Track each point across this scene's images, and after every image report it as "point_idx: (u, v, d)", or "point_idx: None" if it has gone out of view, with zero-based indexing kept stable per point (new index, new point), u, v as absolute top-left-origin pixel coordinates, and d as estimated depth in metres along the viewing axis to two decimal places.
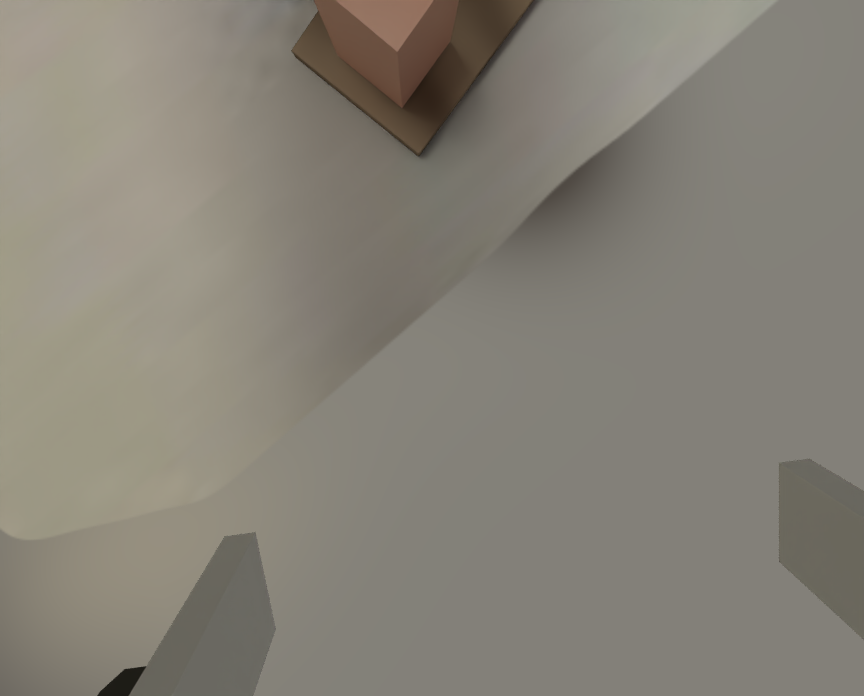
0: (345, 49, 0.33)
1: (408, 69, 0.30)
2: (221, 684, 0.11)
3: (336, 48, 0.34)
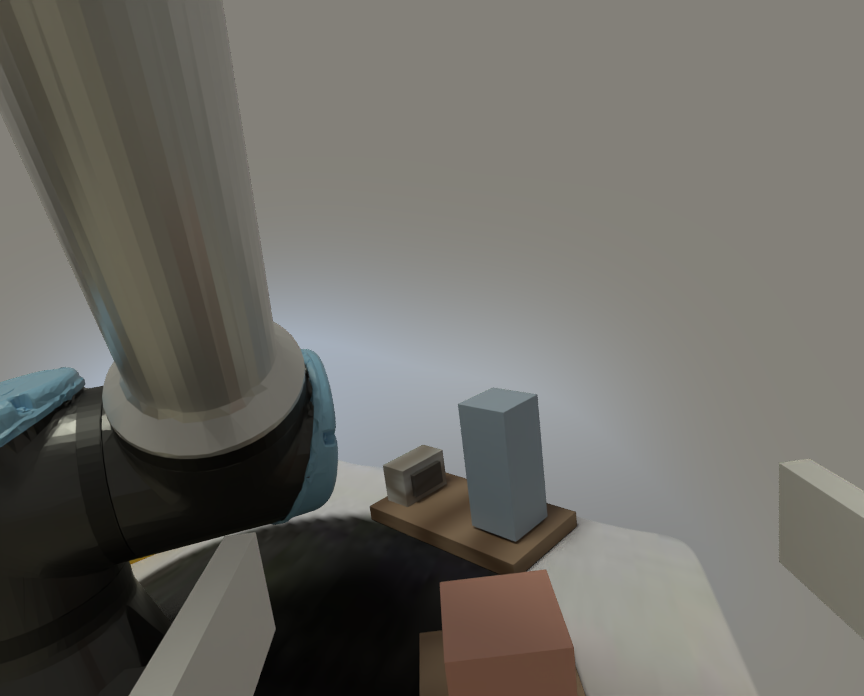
0: None
1: None
2: (222, 684, 0.11)
3: None
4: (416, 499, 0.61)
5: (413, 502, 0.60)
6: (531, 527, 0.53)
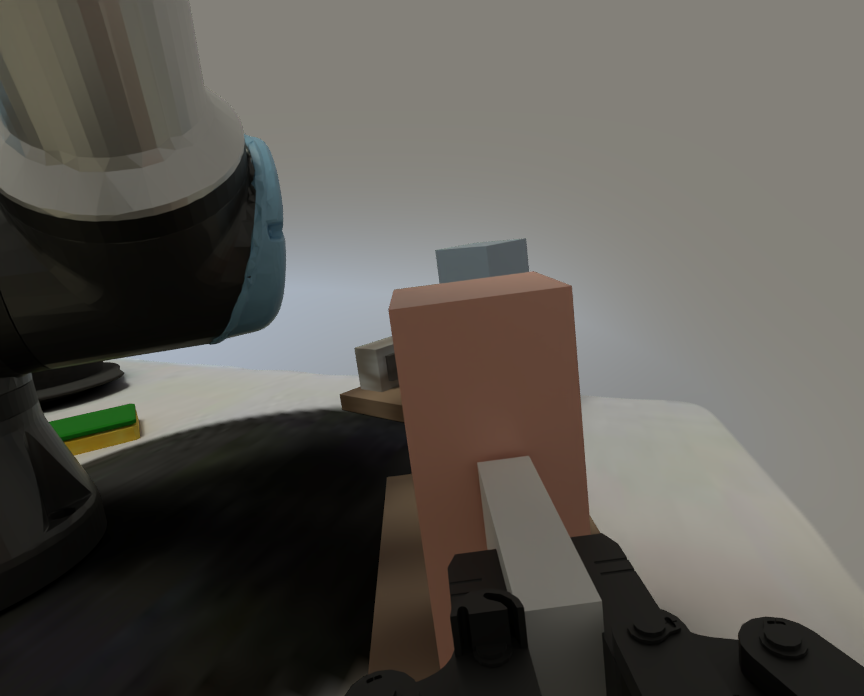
0: None
1: None
2: None
3: (442, 633, 0.18)
4: (391, 385, 0.54)
5: (389, 388, 0.54)
6: None
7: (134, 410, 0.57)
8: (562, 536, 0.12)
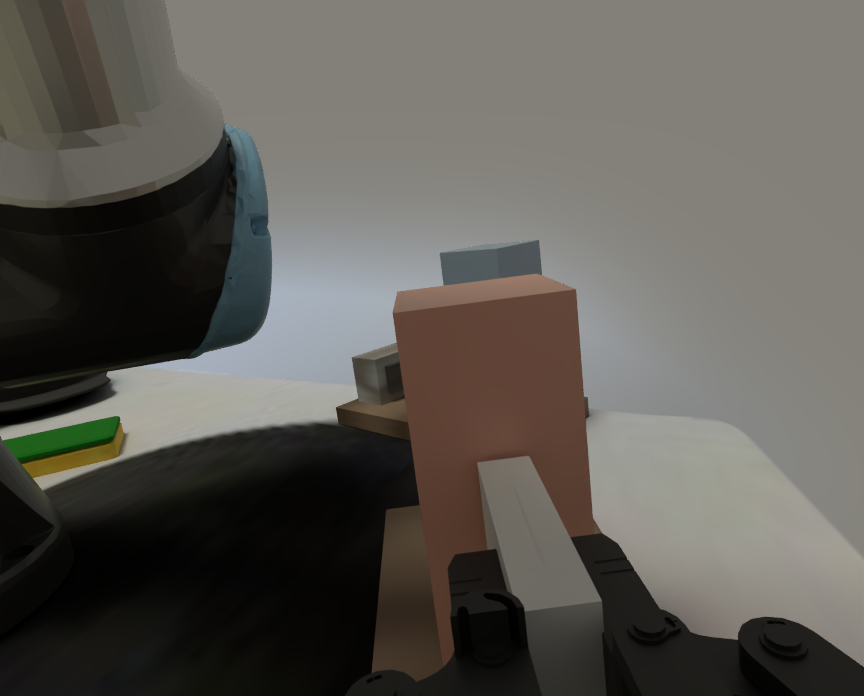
0: None
1: None
2: None
3: (445, 635, 0.18)
4: (392, 398, 0.50)
5: (389, 401, 0.50)
6: None
7: (116, 424, 0.52)
8: (562, 536, 0.12)
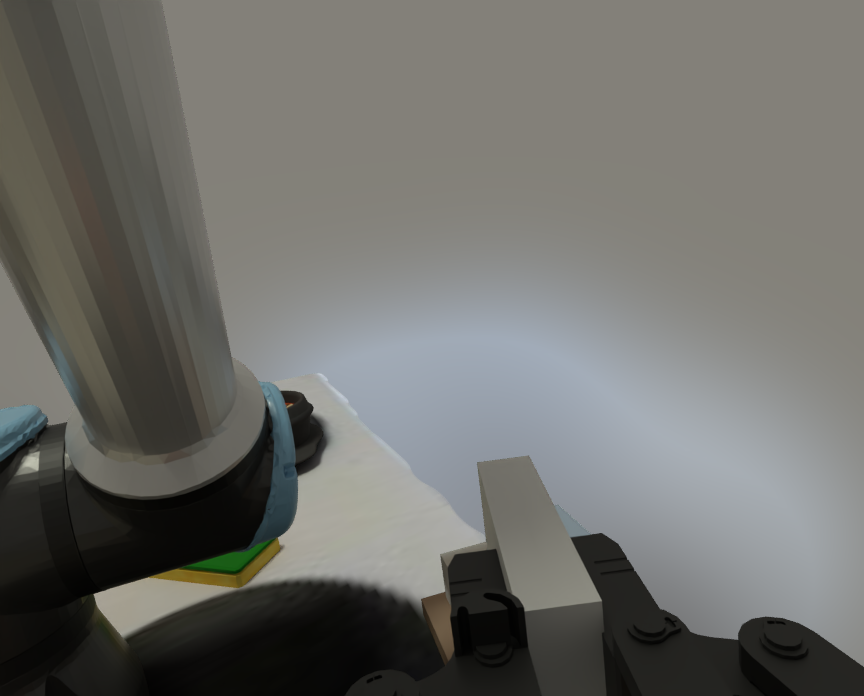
0: None
1: None
2: None
3: None
4: None
5: None
6: None
7: (260, 549, 0.60)
8: (562, 536, 0.12)
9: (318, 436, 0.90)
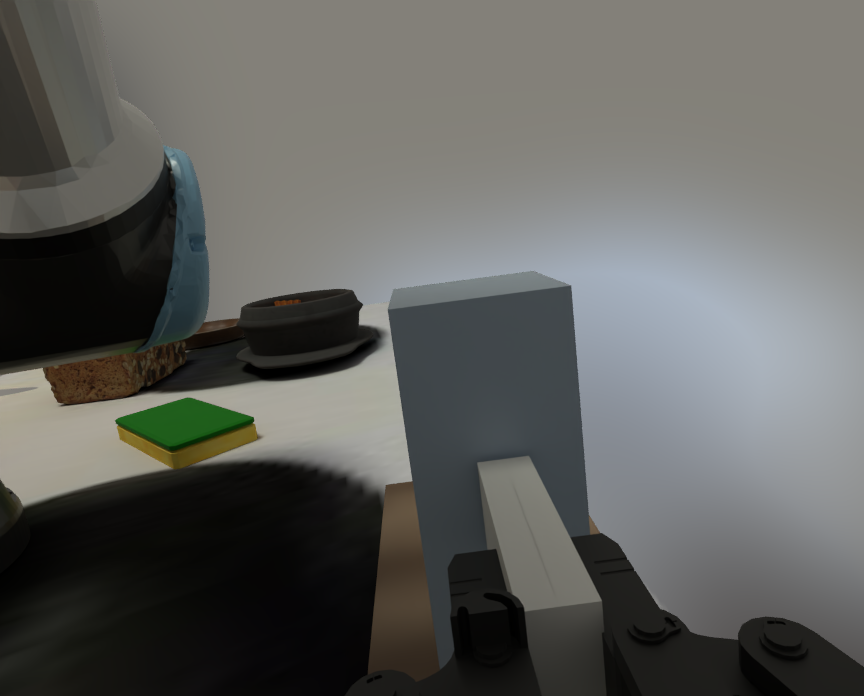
0: None
1: None
2: None
3: None
4: None
5: None
6: None
7: (218, 430, 0.47)
8: (562, 536, 0.12)
9: (365, 338, 0.77)
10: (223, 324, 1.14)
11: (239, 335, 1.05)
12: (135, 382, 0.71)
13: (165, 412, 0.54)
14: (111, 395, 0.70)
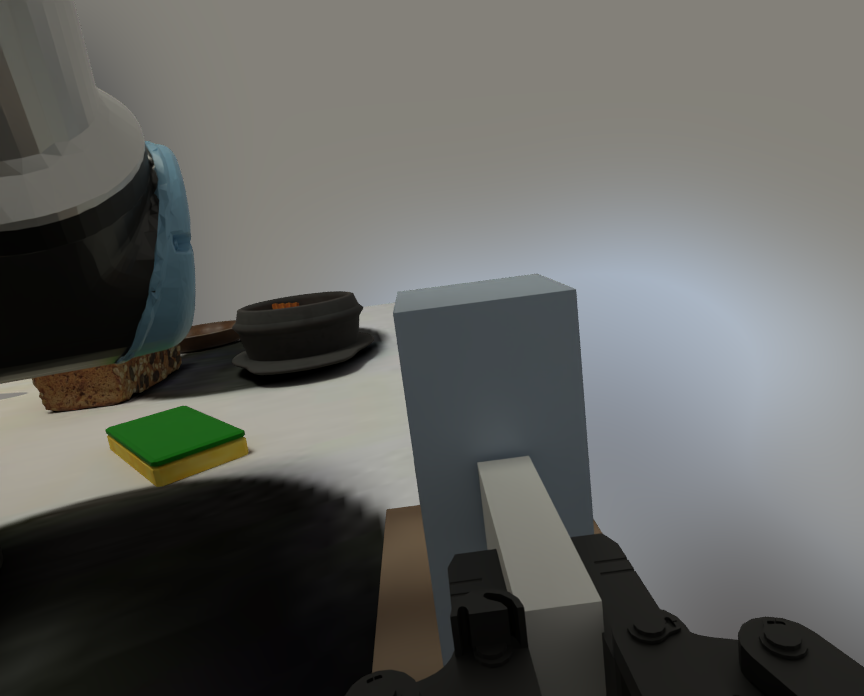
0: None
1: None
2: None
3: None
4: None
5: None
6: None
7: (204, 445, 0.44)
8: (562, 536, 0.12)
9: (365, 342, 0.75)
10: (220, 326, 1.12)
11: (236, 338, 1.02)
12: (127, 388, 0.69)
13: (156, 422, 0.51)
14: (101, 402, 0.68)
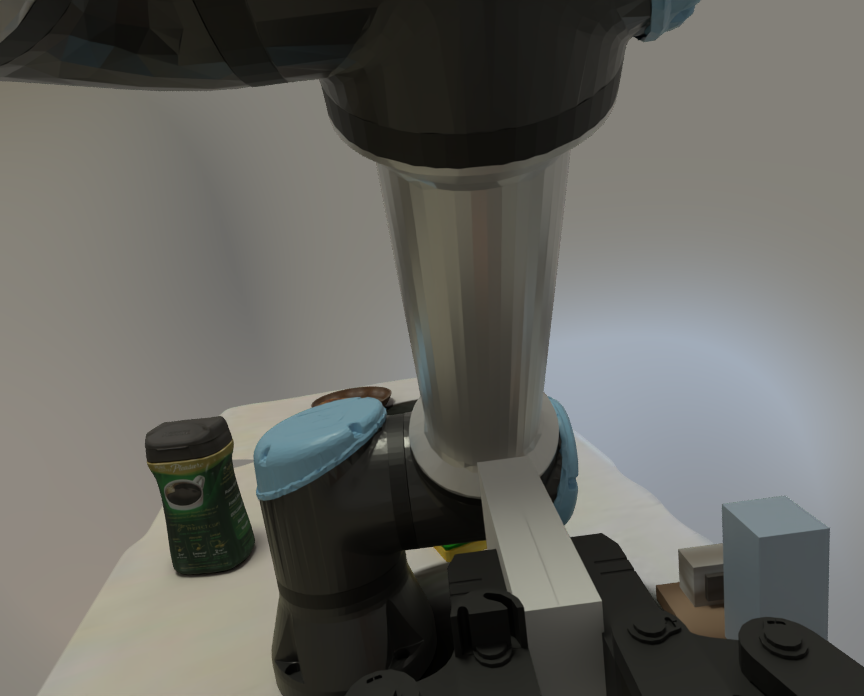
0: None
1: None
2: None
3: None
4: (708, 603, 0.52)
5: (704, 605, 0.52)
6: None
7: None
8: (562, 536, 0.12)
9: None
10: (361, 391, 1.37)
11: (384, 405, 1.27)
12: None
13: None
14: None
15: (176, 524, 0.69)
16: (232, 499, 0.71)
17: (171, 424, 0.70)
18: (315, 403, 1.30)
